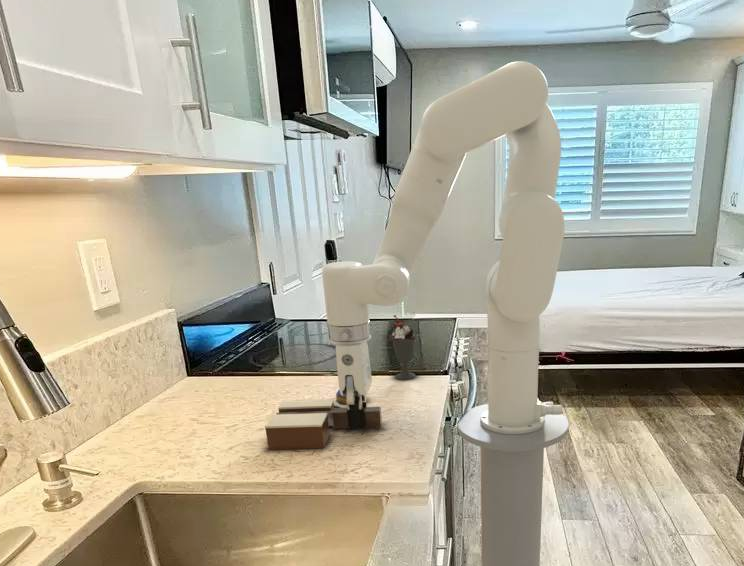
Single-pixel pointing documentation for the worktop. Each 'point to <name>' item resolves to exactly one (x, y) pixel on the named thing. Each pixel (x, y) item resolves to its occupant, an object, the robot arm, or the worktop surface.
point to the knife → (340, 417)
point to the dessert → (341, 400)
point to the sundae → (403, 348)
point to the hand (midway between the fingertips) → (358, 423)
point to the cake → (297, 431)
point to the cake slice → (307, 406)
